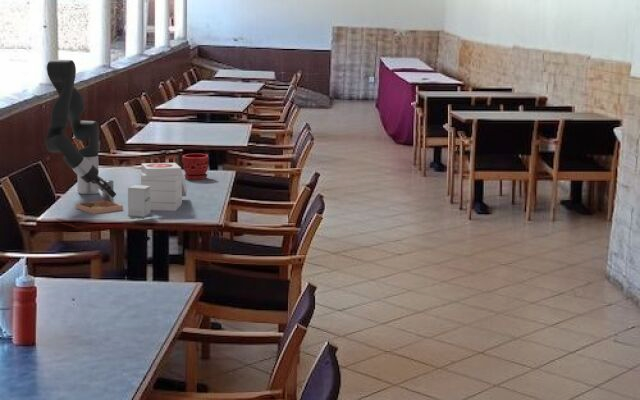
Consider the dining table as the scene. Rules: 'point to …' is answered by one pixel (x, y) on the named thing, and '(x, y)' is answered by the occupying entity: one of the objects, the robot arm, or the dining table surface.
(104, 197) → the disc
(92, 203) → the walnut block
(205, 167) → the plant pot
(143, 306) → the dining table surface
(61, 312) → the dining table surface
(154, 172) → the pizza boxes
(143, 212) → the supplement box
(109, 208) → the tray
